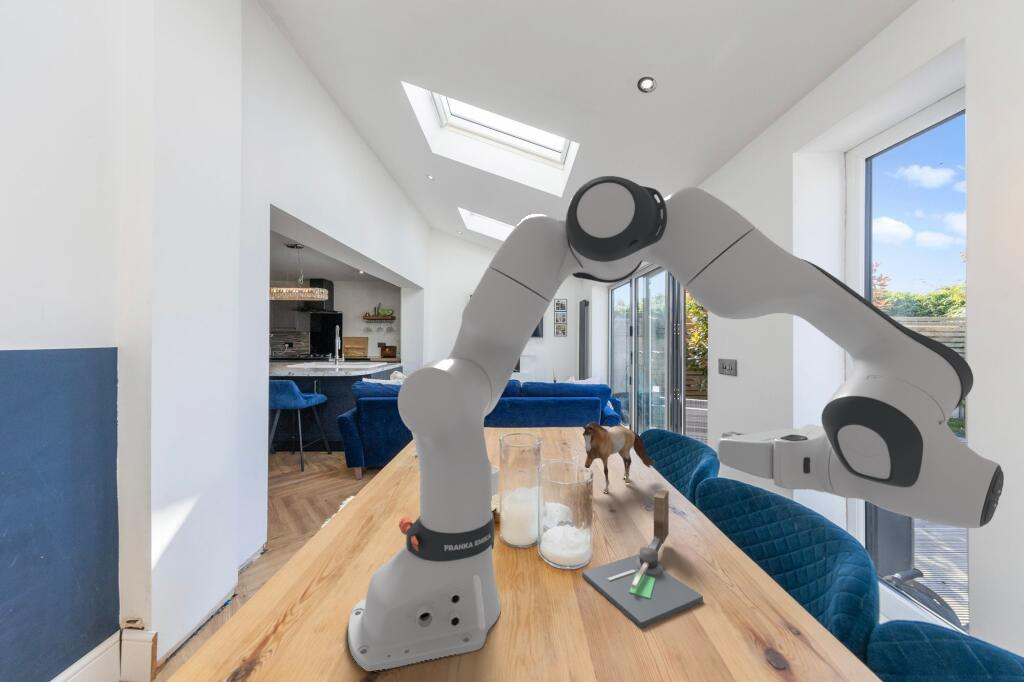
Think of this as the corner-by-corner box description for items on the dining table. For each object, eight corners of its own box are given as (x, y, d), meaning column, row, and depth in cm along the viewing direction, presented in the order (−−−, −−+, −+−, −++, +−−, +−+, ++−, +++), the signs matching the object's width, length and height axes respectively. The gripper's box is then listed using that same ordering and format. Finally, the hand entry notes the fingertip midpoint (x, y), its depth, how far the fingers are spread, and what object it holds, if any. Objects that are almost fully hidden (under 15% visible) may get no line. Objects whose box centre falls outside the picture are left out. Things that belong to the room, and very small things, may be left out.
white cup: (494, 517, 92) (494, 475, 92) (463, 514, 94) (463, 472, 94) (501, 504, 100) (502, 465, 100) (472, 501, 101) (473, 463, 101)
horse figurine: (587, 504, 100) (588, 425, 100) (566, 494, 106) (566, 420, 107) (655, 480, 119) (656, 413, 119) (634, 473, 125) (634, 410, 125)
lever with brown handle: (643, 593, 62) (644, 533, 62) (624, 586, 63) (624, 528, 64) (672, 537, 80) (672, 491, 80) (656, 533, 82) (656, 488, 82)
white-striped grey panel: (641, 628, 56) (641, 620, 56) (582, 576, 69) (582, 570, 69) (706, 599, 63) (706, 592, 63) (641, 557, 75) (641, 551, 75)
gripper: (855, 429, 59) (762, 414, 72) (779, 442, 50) (687, 423, 62) (855, 470, 59) (762, 448, 71) (779, 491, 50) (687, 462, 62)
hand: (727, 436), depth 67 cm, fingers closed
